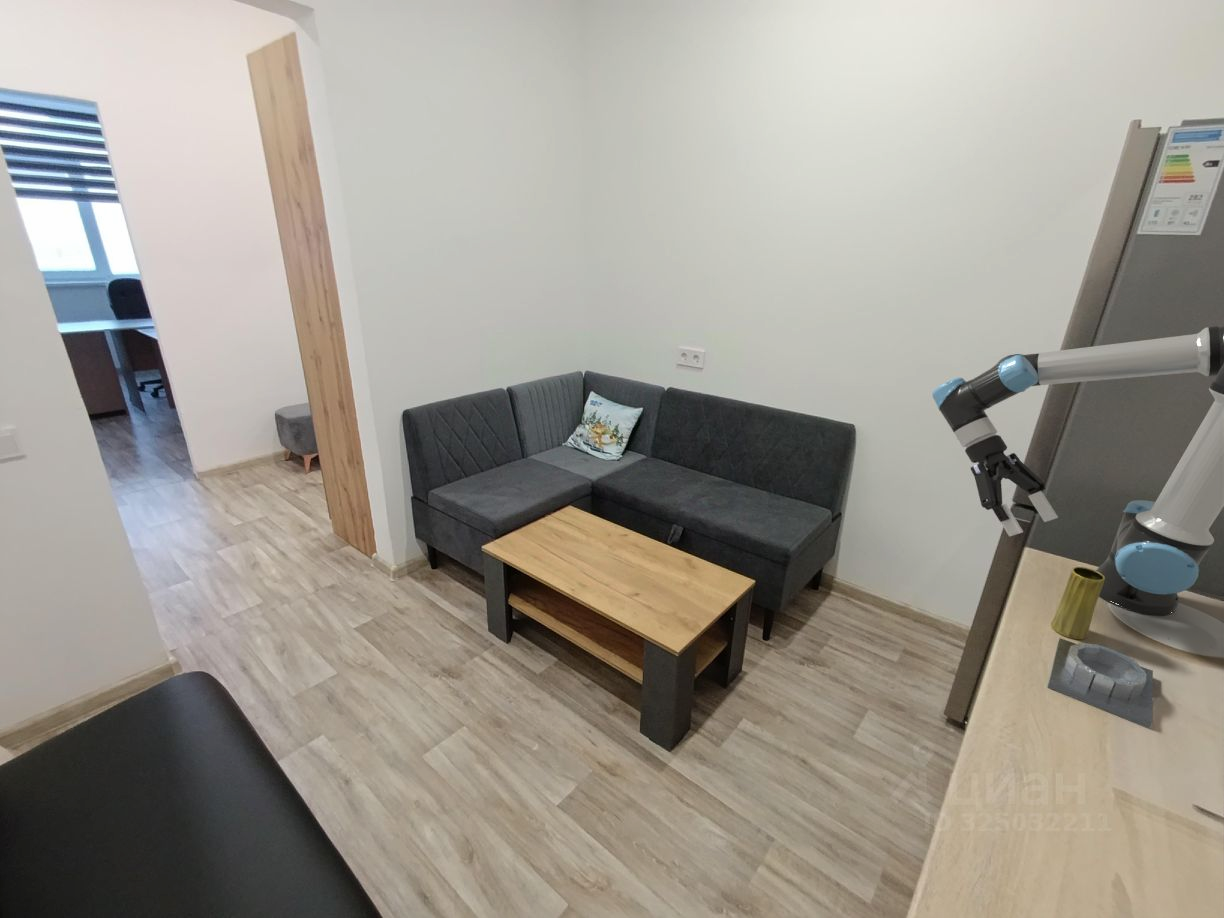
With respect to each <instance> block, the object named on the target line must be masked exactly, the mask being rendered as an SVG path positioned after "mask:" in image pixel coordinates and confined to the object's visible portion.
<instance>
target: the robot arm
mask: <svg viewBox="0 0 1224 918" xmlns="http://www.w3.org/2000/svg"><path fill="white" fill-rule="evenodd" d="M1188 373H1189V374H1190V373H1200V374H1201V375H1203V376H1205V377H1213V376H1215V377H1214V379H1213V381H1212V383H1211V384H1210V387H1209V388H1208V390H1209V392H1210V393H1211V396H1212V397H1213V399H1214V401H1213V402H1212V405H1211V406H1210V408H1209V410H1208V411H1207V413H1206V415H1205V417H1204V419H1203V420H1202V422H1201V423H1200V426H1198V428H1197V430H1196V432H1195V433H1194V435H1193V437H1192V439H1191V441H1190V442H1189V444H1188V446H1187V448H1186V449H1185V451H1184V452H1183V454H1182V456H1181V458H1180V460H1179V461H1178V463H1177V465H1176V467H1175V468H1174V470H1173V471H1172V473H1171V475H1170V476H1169V478H1168V480H1167V482H1165V484H1164V486H1163V488H1162V490H1161V492H1160V494H1159V495H1158V497H1157V498H1156V500H1155V501H1151V500H1143V499H1142V500H1141V499H1140V500H1139V499H1138V500H1136V499H1135V500H1132V501H1130V502H1128V504H1127V505H1126V507H1125V509H1123V511H1122V512H1123V515H1122V518H1121V520H1120V522H1119V523H1120V524H1119V526H1118V528H1117V531H1116V534H1115V537H1114V541H1113V543H1112V545H1111V549H1110V552H1109V554H1108V557H1107V558H1106V559H1105V560H1104V561H1103V562H1102V563H1101V564H1100V565H1099V566H1098V567H1097V569H1096V570H1095V571H1098V572H1100V573H1101V574H1102V575H1104V577H1105V581H1104V584H1103V587H1102V589H1101V592H1100V595H1099V598H1102V599H1103V600H1104V601H1107V602H1109V603H1110V601H1112V602H1114V603H1117V604H1119V605H1120V606H1122V607H1123V609H1125V608H1126V609H1125V610H1129V611H1132V612H1135V613H1140V614H1145V615H1151V616H1152V615H1153V616H1166V615H1171V614H1172V613H1171V612H1173V611H1174V610H1175V611H1176V610H1177V607H1178V605H1179V595H1178V594H1179V593H1181V592H1185V591H1187V590H1188V589H1190V588H1191V587H1192V586H1193V585H1194V584H1195V583H1196V581H1197V579H1198V578H1199V574H1200V568H1199V565H1200V564H1201V562H1202V560H1203V559H1204V557H1205V556H1206V554H1207V553H1208V552H1209V550H1210V548H1211V546H1212V545H1213V544H1214V542H1215V538H1214V537H1213V535H1212V534H1211V532H1210V528H1211V526H1212V525H1213V523H1214V521H1216V519H1217V517H1218V516H1219V515H1220V512H1221V511H1222V510H1223V508H1224V325H1222V324H1221V325H1216V326H1207V327H1205V328H1203V329H1202V330H1200V331H1199V332H1198V333H1193V334H1185V335H1178V336H1168V337H1162V338H1160V337H1159V338H1154V339H1145V340H1143V339H1142V340H1137V341H1136V340H1135V341H1128V342H1119V343H1113V344H1112V343H1111V344H1103V345H1094V346H1087V347H1078V348H1071V349H1070V348H1069V349H1062V350H1061V349H1060V350H1052V351H1045V352H1038V353H1031V354H1029V353H1028V354H1022V353H1015V354H1009V355H1007V356H1004V357H1002V358H1001V359H1000V360H999V361H997V363H996V364H995V365H993V366H992V367H991V368H990V369H988V370H986V371H985V372H982V373H981V374H979V375H977V376H976V377H974V378H973V379H970V380H968V381H966V380H965V379H964V378H963V377H956V378H953V379H950V380H948V381H946V382H944V383H942V384H941V385H939V386H937V387H936V388H935V389H934V390H933V392H932V395H931V396H932V398H933V400H934V402H935V404H936V406H937V409H938V410H939V411H940V413H941V415H942V416H943V418H944V419H945V421H946V422H947V425H949V427H950V429H951V431H952V432H953V434H955V437H956V440H958V442H959V443H960V445H961V447H962V448H965V450H964V451H965V454H966V455H967V457H968V458H969V460H970V462H971V463H973V464H974V465H973V466H971V467H970V471H971V473H972V475H973V477H974V479H975V484H976V487H977V492H978V496H979V501H980V505H981V507H982V508H984V509H985V510H987V511H989V510H992V511H993V513H994V514H995V516H996V518H997V519H998V521H999V522H1000V524H1001V525H1002V527H1003V528H1004V530H1005V532H1006V534H1007V535H1008V537H1013V536H1016V535H1018V534H1022V533H1024V530H1023V528H1022V527H1021V526H1020V524H1019V522H1018V521H1017V519H1016V517H1015V516H1014V514H1013V513H1012V511H1011V509H1010V507H1009V506H1008V505H1007V503H1004V504H1003V491H1002V490H1003V489H1002V480H1003V479H1006V480H1007V479H1008V480H1010V481H1011V482H1013V484H1015V485H1016V486H1018V487H1019V488H1021V490H1024V492H1026V493H1028V496H1027V497H1028V498H1029V500H1030V502H1031V504H1032V505H1033V506H1034V508H1035V510H1036V511H1037V513H1038V514H1039V516H1040V517H1041V519H1042V521H1043V522H1044V523H1046V522H1050V521H1052V520H1056V519H1058V518H1059V515H1057V513H1056V511H1055V510H1054V508H1053V506H1052V505H1051V504H1050V501H1048V499H1047V497H1046V496H1045V494H1044V492H1043V491H1044V490H1046V489H1047V488H1046V484H1045V482H1044V481H1043V480H1042V479H1040V477H1038V476H1037V475H1036V474H1035V473H1034V472H1033V471H1032V470H1031V469H1030V468H1029V467H1028V466H1027V465H1026V464H1025V463H1024V462H1023V461H1021V460H1020V458H1019V457H1018V455H1017V454H1016V453H1015V452H1013V453H1010V454H1008V455H1006V454H1005V453H1004V452H1005V451H1007V450H1008V445H1007V444H1006V443H1005V441H1004V439H1003V438H1002V436H1001V435H999V434H997V433H998V430H997V428H996V426H994V423H992V421H991V420H990V418H989V416H988V414H987V413H986V410H987V409H990V408H992V407H993V406H995V405H997V404H999V403H1001V402H1003V401H1006V400H1008V399H1009V398H1011V397H1013V396H1016V395H1018V394H1020V393H1023V392H1025V391H1026V390H1027V389H1029V388H1031V387H1039V386H1047V385H1058V384H1059V385H1061V384H1068V383H1069V384H1071V383H1082V382H1084V383H1085V382H1092V381H1094V382H1096V381H1104V380H1105V381H1107V380H1118V379H1127V378H1139V377H1141V378H1142V377H1151V376H1153V377H1154V376H1164V375H1175V374H1177V375H1178V374H1188ZM976 463H977V464H976ZM1120 606H1119V607H1120ZM1122 607H1121V608H1122ZM1175 611H1174V612H1175ZM1174 612H1173V613H1174ZM1170 613H1171V614H1170Z"/></svg>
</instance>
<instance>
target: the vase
mask: <svg viewBox="0 0 1224 918" xmlns="http://www.w3.org/2000/svg"><path fill="white" fill-rule="evenodd" d="M1104 581H1105V577H1104V575H1102V574H1101V573H1100V572H1098V571H1096V570H1095V569H1093V568H1089V567H1086V566H1074V567H1073V568H1071V572H1070V575H1069V576H1068V580H1067V582H1066V587H1065V589H1064V592H1063V595H1062V597H1061V599H1060V602H1059V604H1058V606H1057V609H1056V612H1055V614H1054V617H1053V619H1052V621H1051V622H1050V626H1051V629H1052V630H1054V631H1055V632H1056V633H1058V634H1059V635H1061V636H1064V637H1067V638H1068V639H1073V640H1084V639H1086V638H1088V636H1089V635H1088V634H1089V630H1090V626H1091V622H1092V619H1093V616H1094V613H1095V609H1096V606H1097V602H1098V600H1099V598H1100V596H1099V595H1100V592H1101V589H1102V587H1103V584H1104Z"/></svg>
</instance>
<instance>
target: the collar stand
mask: <svg viewBox="0 0 1224 918" xmlns="http://www.w3.org/2000/svg"><path fill="white" fill-rule="evenodd" d="M1055 650H1056V651H1055V655H1054V658H1053V662H1052V666H1051V671H1050V675H1049V679H1048V683H1047V688H1048V689H1050V690H1052V691H1055V692H1058V693H1060V694H1063V695H1065V696H1068V697H1070V698H1072V699H1074V700H1078V701H1080V702H1083V703H1086V704H1088V705H1090V706H1092V707H1095V708H1097V709H1101V710H1103V711H1105V712H1108V713H1110V714H1112V715H1114V716H1118V717H1120V718H1122V719H1124V720H1128V721H1130V722H1132V723H1135V724H1137V725H1140V726H1143V727H1145V728H1148V729H1151V727H1152V724H1153V719H1154V718H1153V717H1154V712H1153V711H1154V710H1153V708H1154V704H1153V703H1154V698H1153V697H1154V670H1153V669H1149V668H1147V667H1144V666H1141V665H1140V664H1139V663H1137V662H1136V661H1135V660H1134V659H1132V658H1130V657H1128V656H1127V655H1125V654H1123V652H1118V650H1115V649H1113V648H1109V647H1106V646H1104V645H1103V646H1102V645H1101V644H1100V645H1099V644H1096V643H1087V642H1079V643H1076V642H1074V641H1073V642H1072V641H1070V640H1066V639H1064V638H1059V640H1058V641H1057V646H1056V649H1055Z"/></svg>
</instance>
